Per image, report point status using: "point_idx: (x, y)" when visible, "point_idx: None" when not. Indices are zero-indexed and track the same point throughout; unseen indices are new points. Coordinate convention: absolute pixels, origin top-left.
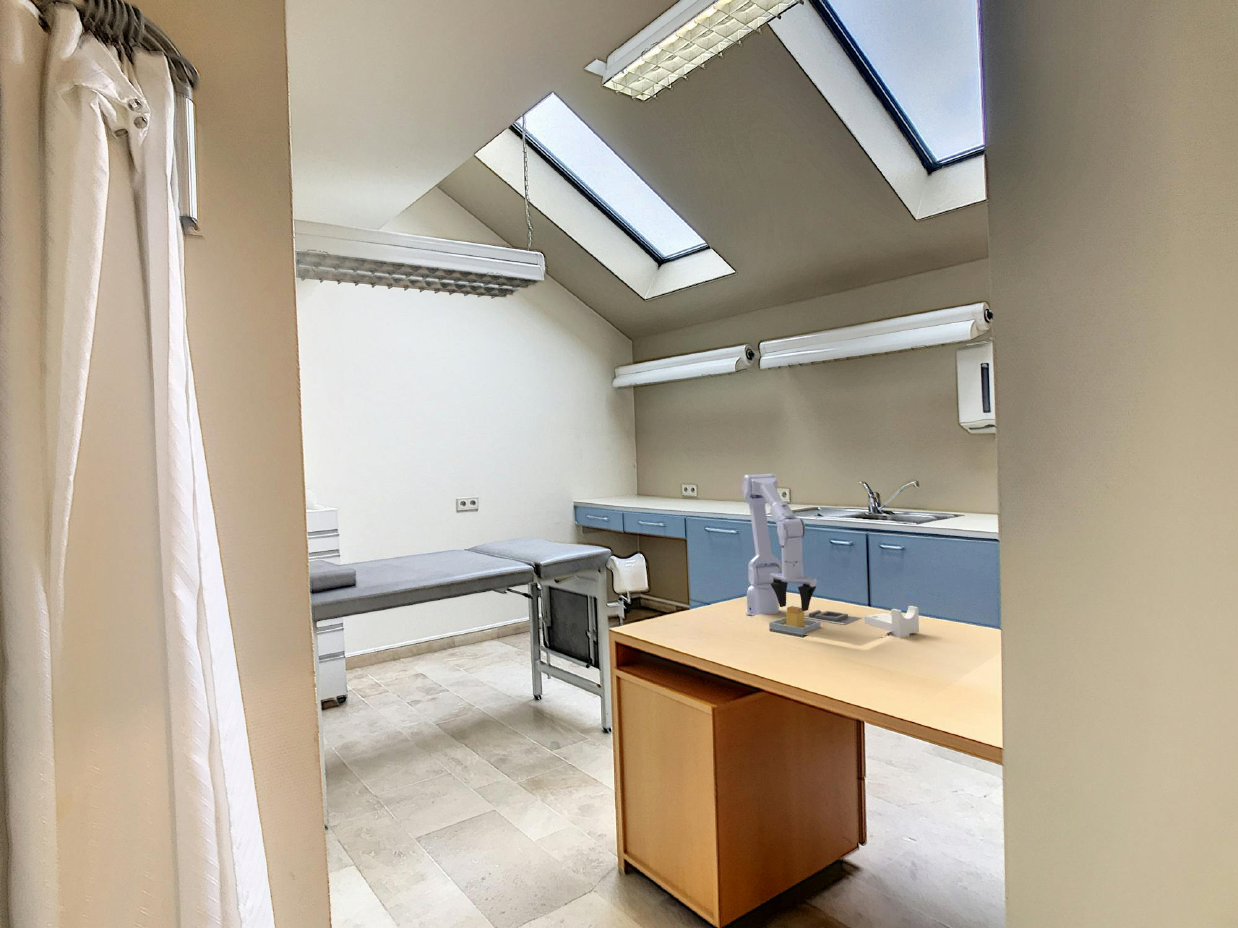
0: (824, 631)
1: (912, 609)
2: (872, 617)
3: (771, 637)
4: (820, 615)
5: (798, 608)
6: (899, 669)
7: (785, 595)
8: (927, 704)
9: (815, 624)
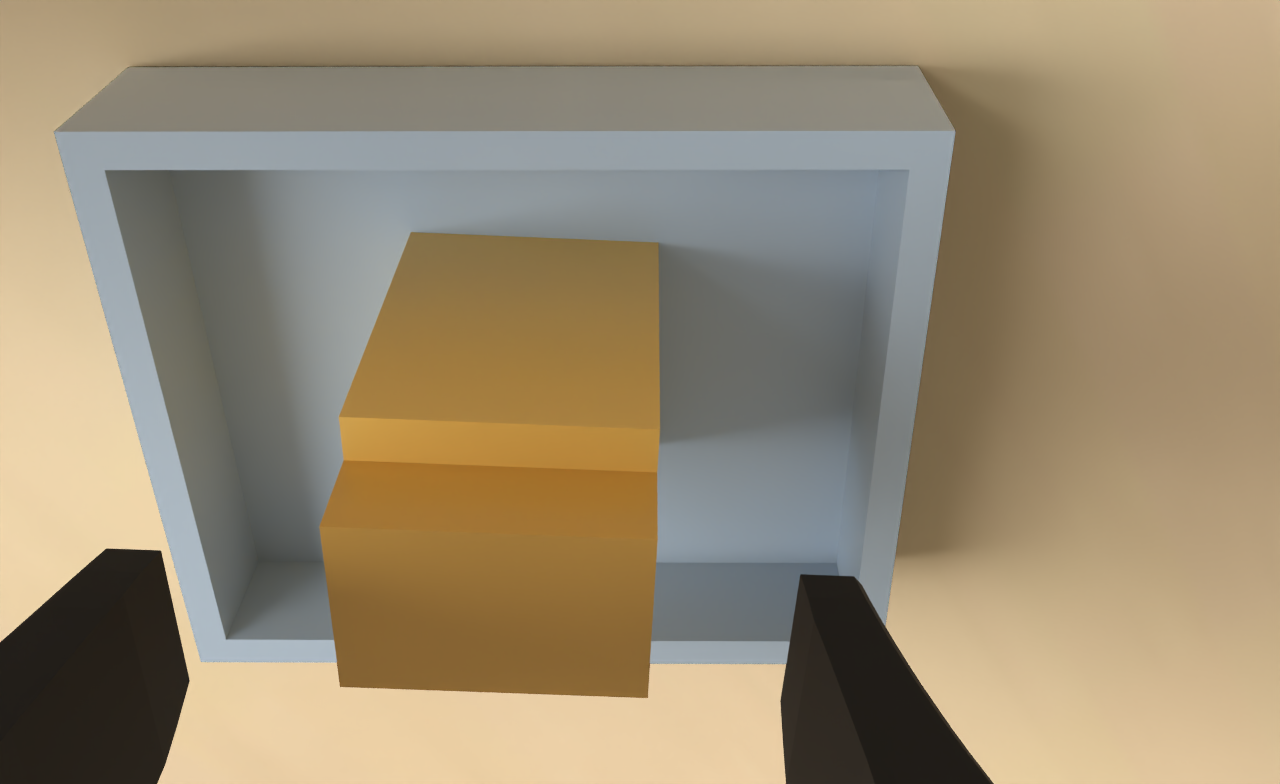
0: (1002, 53)
1: None
2: None
3: (488, 744)
4: None
5: (606, 624)
6: None
7: (22, 749)
8: None
9: (925, 301)
